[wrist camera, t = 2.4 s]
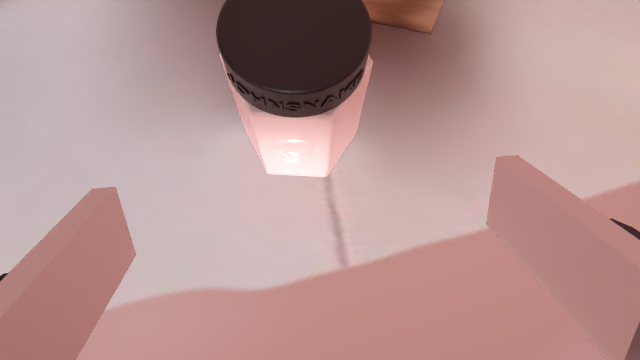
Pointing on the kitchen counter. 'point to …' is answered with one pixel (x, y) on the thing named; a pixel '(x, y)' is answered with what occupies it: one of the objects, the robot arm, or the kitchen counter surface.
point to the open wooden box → (405, 13)
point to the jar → (297, 77)
